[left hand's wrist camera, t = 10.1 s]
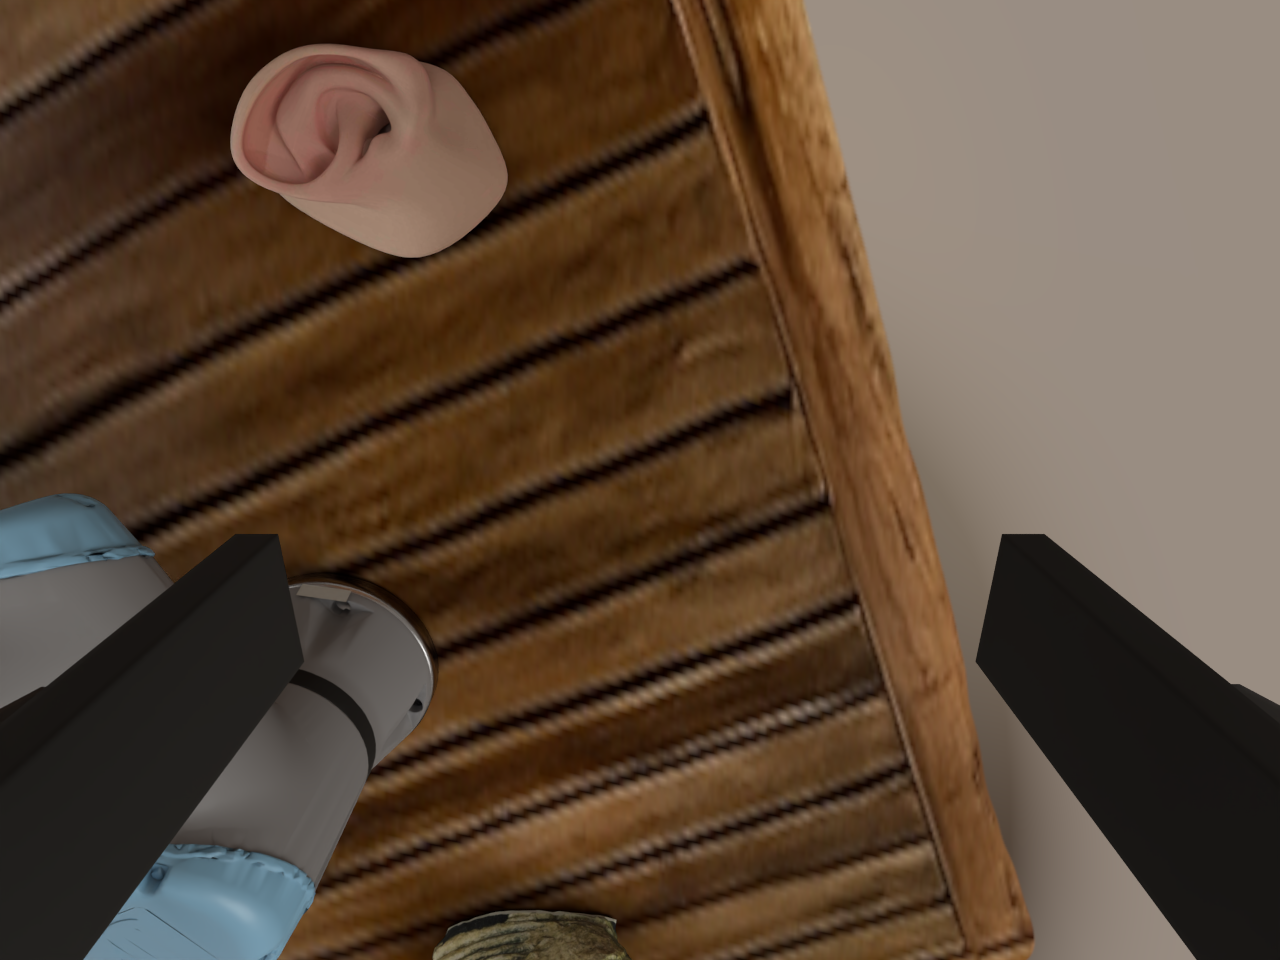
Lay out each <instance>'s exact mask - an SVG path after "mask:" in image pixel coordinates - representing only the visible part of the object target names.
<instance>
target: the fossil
mask: <svg viewBox="0 0 1280 960" xmlns="http://www.w3.org/2000/svg"><path fill="white" fill-rule="evenodd" d="M615 927H616V920H615V919H612V918H608V917H605V916H601V915H589V914H582V913H570V912H563V911H557V912H548V911H542V910H519V911H502V912H494V913H489V914H486V915H483V916H479V917H475V918H473V919H471V920H469V921H463V922H460V923H458V924H456V925H454V926H452V927H450V928H448V931H447V933H446V936H445V937H444V938H443V939H442V941H441V942H440V943H439V944H438V945H437V946H436V947H435V949H434V953H433V956H432V957H433V960H632V959H631V958H630V957H629V955H628V954H627V953H626V950H625V948H623V947H622V946H621V945H620V944H619V943H618V942H617V934H616V930H615Z"/></svg>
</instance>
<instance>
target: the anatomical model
mask: <svg viewBox="0 0 1280 960" xmlns="http://www.w3.org/2000/svg"><path fill="white" fill-rule="evenodd" d="M231 152H232V156H233V159H234V161H235V163H236V165H237V167H238V168H239V170H240V171H241V172H242V173H243V174H244V175H245V176H246V177H248V178H249V179H250V180H252V181H253V182H255V183H257V184H258V185H260V186H262V187H264V188H266V189H269V190H272V191H274V192H277V193H279V194H280V195H281V196H282V197H283V198H285V199H286V200H287V201H288V202H290V203H291V204H292V205H294V206H295V207H296V208H298V209H299V210H301V211H303V212H304V213H306V214H307V215H309V216H311V217H312V218H314V219H316V220H317V221H319V222H321V223H323V224H324V225H326V226H328V227H330V228H332V229H334V230H336V231H338V232H340V233H342V234H344V235H346V236H348V237H350V238H352V239H354V240H356V241H358V242H360V243H362V244H365V245H367V246H369V247H372V248H374V249H377V250H380V251H382V252H385V253H388V254H392V255H396V256H401V257H422V256H427V255H431V254H434V253H436V252H439V251H441V250H443V249H445V248H447V247H448V246H450V245H452V244H453V243H455V242H456V241H458V240H459V239H461V238H462V237H464V236H465V235H466V234H467V233H468V232H470V231H471V230H472V229H473V228H474V227H476V226H477V225H478V224H479V223H480V222H481V221H482V220H483V219H484V218H485V217H486V216H487V215H488V214H489V213H490V212H491V211H492V209H493V208H494V207H495V206H496V205H497V203H498V202H499V200H500V199H501V198H502V196H503V194H504V192H505V189H506V186H507V180H508V174H507V168H506V165H505V161H504V159H503V156H502V154H501V151H500V149H499V147H498V145H497V143H496V141H495V139H494V137H493V135H492V133H491V131H490V129H489V127H488V125H487V123H486V121H485V120H484V118H483V116H482V114H481V113H480V111H479V109H478V108H477V106H476V105H475V104H474V102H473V101H472V99H471V98H470V97H469V95H468V94H467V92H466V91H465V90H464V88H463V87H462V86H461V84H460V83H459V82H458V81H457V80H456V79H455V78H454V77H453V76H452V75H451V74H449V73H448V72H447V71H445V70H443V69H441V68H439V67H437V66H434V65H431V64H427V63H424V62H419V61H418V60H416V59H415V58H414V57H412V56H410V55H408V54H406V53H402V52H396V51H388V50H379V49H370V48H363V47H356V46H349V45H340V44H313V45H307V46H302V47H298V48H295V49H292V50H290V51H288V52H286V53H284V54H282V55H280V56H278V57H277V58H275V59H274V60H272V61H271V62H270V63H268V64H267V65H266V66H265V67H264V68H262V69H261V70H260V71H259V72H258V73H257V74H256V75H255V76H254V77H253V79H252V80H251V81H250V82H249V84H248V85H247V87H246V89H245V90H244V92H243V94H242V96H241V99H240V101H239V103H238V106H237V109H236V112H235V115H234V119H233V124H232V129H231Z"/></svg>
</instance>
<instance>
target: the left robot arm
mask: <svg viewBox="0 0 1280 960" xmlns="http://www.w3.org/2000/svg"><path fill="white" fill-rule="evenodd" d="M154 555H155V553H154V552H153V551H152V550H151V549H150V548H148V547H146V546H142V545H141V544H140V543H139V542H138V541H137V539H136V538H135V537H134V536H133V535H132V534H131V533H130V532H129V531H128V529H127V528H126V527H125V526H124V525H123V524H122V523H121V522H120V521H119V519H118V518H117V517H116V516H115V515H114V514H113V513H112V512H111V511H110V509H109V508H108V507H106V506H105V505H104V504H103V503H101V502H100V501H98V500H96V499H94V498H91V497H89V496H85V495H81V494H56V495H51V496H46V497H43V498H39V499H36V500H32V501H29V502H25V503H22V504H19V505H16V506H12V507H9V508H6V509H3V510H0V960H277V958H278V957H279V955H280V954H281V952H282V950H283V949H284V947H285V945H286V943H287V941H288V940H289V938H290V936H291V934H292V933H293V931H294V929H295V927H296V926H297V924H298V922H299V920H300V919H301V917H302V915H303V914H304V913H305V912H306V911H307V910H308V909H309V907H310V905H311V904H312V902H313V899H314V895H315V894H316V893H315V890H316V888H317V886H318V884H319V882H320V880H321V877H322V875H323V873H324V871H325V869H326V867H327V864H328V862H329V860H330V858H331V856H332V854H333V851H334V849H335V847H336V845H337V843H338V841H339V838H340V836H341V834H342V832H343V830H344V828H345V825H346V823H347V821H348V819H349V817H350V815H351V812H352V810H353V808H354V806H355V804H356V802H357V799H358V797H359V795H360V793H361V791H362V789H363V786H364V784H365V782H366V780H367V778H368V776H369V774H370V772H371V770H372V768H373V767H375V766H376V765H377V764H378V763H379V762H380V761H381V760H382V759H383V758H384V757H385V756H386V755H387V754H388V753H389V752H391V751H392V750H393V749H394V748H395V747H396V746H397V745H398V744H399V743H400V742H401V741H402V740H403V739H404V738H405V737H407V736H408V735H409V734H410V733H411V732H412V731H413V730H414V729H415V728H416V727H417V725H418V724H419V723H420V721H421V720H422V718H423V717H424V715H425V713H426V711H427V709H428V707H429V704H430V702H431V699H432V697H433V695H434V692H435V689H436V686H437V681H438V658H437V653H436V649H435V646H434V644H433V641H432V639H431V637H430V635H429V633H428V631H427V629H426V628H425V626H424V624H423V623H422V622H421V620H420V619H419V618H418V617H417V615H416V614H415V613H414V612H413V611H412V610H411V609H410V608H409V607H408V606H407V605H406V604H404V603H403V602H402V601H401V600H399V599H398V598H397V597H395V596H394V595H392V594H391V593H389V592H388V591H386V590H384V589H382V588H380V587H378V586H376V585H374V584H372V583H369V582H367V581H364V580H361V579H358V578H354V577H350V576H346V575H339V574H329V573H314V574H305V575H300V576H295V577H292V578H288V579H287V576H286V571H285V566H284V561H283V556H282V552H281V547H280V542H279V537H278V534H235V535H234V536H233V537H231V538H230V539H229V540H228V541H226V542H225V543H224V544H223V545H221V546H220V547H219V548H218V549H217V550H215V551H214V552H213V553H212V554H210V555H209V556H208V557H207V558H205V559H204V560H203V561H202V562H200V563H199V564H198V565H197V566H195V567H194V568H193V569H192V570H190V571H189V572H188V573H187V574H185V575H184V576H183V577H182V578H180V579H179V580H178V581H177V582H175V583H173V582H172V580H171V579H170V578H169V576H168V575H167V574H166V573H165V571H164V570H163V569H162V568H161V566H160V565H159V564H158V563H157V561H156V560H155V559H154V557H153V556H154ZM976 663H977V664H978V665H979V667H980V668H981V670H982V671H983V672H984V674H985V675H986V676H987V678H988V679H989V680H990V682H991V683H992V684H993V686H994V687H995V688H996V690H997V691H998V692H999V694H1000V695H1001V697H1002V698H1003V699H1004V701H1005V702H1006V703H1007V705H1008V706H1009V707H1010V709H1011V710H1012V711H1013V713H1014V714H1015V715H1016V717H1017V718H1018V719H1019V721H1020V722H1021V723H1022V725H1023V726H1024V728H1025V729H1026V730H1027V731H1028V733H1029V734H1030V736H1031V737H1032V738H1033V740H1034V741H1035V742H1036V744H1037V745H1038V746H1039V748H1040V749H1041V750H1042V752H1043V753H1044V754H1045V756H1046V757H1047V759H1048V760H1049V761H1050V763H1051V764H1052V765H1053V767H1054V768H1055V769H1056V771H1057V772H1058V773H1059V775H1060V776H1061V777H1062V779H1063V780H1064V782H1065V783H1066V784H1067V786H1068V787H1069V788H1070V790H1071V791H1072V792H1073V794H1074V795H1075V796H1076V798H1077V799H1078V800H1079V802H1080V803H1081V804H1082V806H1083V807H1084V808H1085V810H1086V811H1087V813H1088V814H1089V815H1090V817H1091V818H1092V819H1093V821H1094V822H1095V823H1096V825H1097V826H1098V827H1099V829H1100V830H1101V831H1102V833H1103V834H1104V835H1105V837H1106V838H1107V839H1108V841H1109V842H1110V844H1111V845H1112V846H1113V848H1114V849H1115V850H1116V852H1117V853H1118V854H1119V856H1120V857H1121V858H1122V860H1123V861H1124V862H1125V864H1126V865H1127V866H1128V868H1129V869H1130V871H1131V872H1132V873H1133V874H1134V876H1135V877H1136V879H1137V880H1138V881H1139V883H1140V884H1141V885H1142V887H1143V888H1144V889H1145V891H1146V892H1147V893H1148V895H1149V896H1150V897H1151V899H1152V900H1153V902H1154V903H1155V904H1156V906H1157V907H1158V908H1159V910H1160V911H1161V912H1162V914H1163V915H1164V916H1165V918H1166V919H1167V920H1168V922H1169V923H1170V924H1171V926H1172V927H1173V929H1174V930H1175V931H1176V933H1177V934H1178V935H1179V937H1180V938H1181V939H1182V941H1183V942H1184V943H1185V945H1186V946H1187V947H1188V949H1189V950H1190V951H1191V953H1192V954H1193V956H1194V957H1195V958H1196V960H1280V705H1278V704H1276V703H1274V702H1272V701H1270V700H1268V699H1267V698H1265V697H1263V696H1261V695H1259V694H1257V693H1255V692H1253V691H1251V690H1250V689H1248V688H1246V687H1244V686H1242V685H1240V684H1230V683H1229V682H1228V681H1226V680H1225V679H1224V678H1223V677H1221V676H1220V675H1219V674H1218V673H1216V672H1215V671H1214V670H1213V669H1211V668H1210V667H1209V666H1208V665H1206V664H1205V663H1204V662H1203V661H1201V660H1200V659H1199V658H1198V657H1197V656H1195V655H1194V654H1193V653H1192V652H1190V651H1189V650H1188V649H1187V648H1185V647H1184V646H1183V645H1181V644H1180V643H1179V642H1178V641H1177V640H1175V639H1174V638H1173V637H1172V636H1170V635H1169V634H1168V633H1167V632H1165V631H1164V630H1163V629H1162V628H1160V627H1159V626H1158V625H1157V624H1155V623H1154V622H1153V621H1152V620H1151V619H1149V618H1148V617H1147V616H1145V615H1144V614H1143V613H1142V612H1141V611H1139V610H1138V609H1137V608H1136V607H1134V606H1133V605H1132V604H1131V603H1129V602H1128V601H1127V600H1126V599H1124V598H1123V597H1122V596H1121V595H1119V594H1118V593H1117V592H1116V591H1114V590H1113V589H1112V588H1111V587H1109V586H1108V585H1107V584H1106V583H1104V582H1103V581H1102V580H1101V579H1100V578H1098V577H1097V576H1096V575H1095V574H1093V573H1092V572H1091V571H1090V570H1088V569H1087V568H1086V567H1085V566H1083V565H1082V564H1081V563H1080V562H1078V561H1077V560H1076V559H1075V558H1073V557H1072V556H1071V555H1070V554H1068V553H1067V552H1066V551H1065V550H1063V549H1062V548H1061V547H1060V546H1058V545H1057V544H1056V543H1055V542H1053V541H1052V540H1051V539H1050V538H1048V537H1047V536H1046V535H1045V534H1002V537H1001V542H1000V547H999V552H998V556H997V561H996V566H995V571H994V576H993V580H992V585H991V590H990V595H989V600H988V605H987V609H986V614H985V619H984V624H983V628H982V633H981V638H980V643H979V648H978V652H977V657H976Z"/></svg>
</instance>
